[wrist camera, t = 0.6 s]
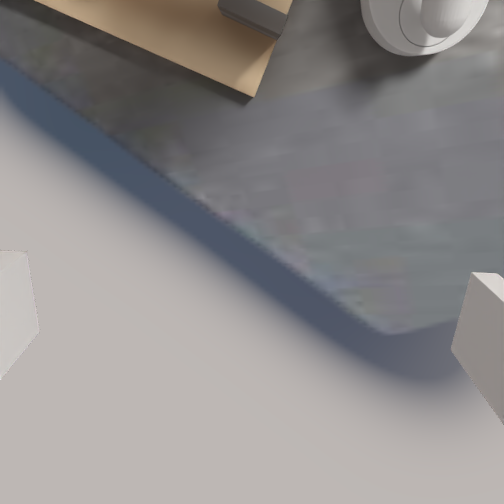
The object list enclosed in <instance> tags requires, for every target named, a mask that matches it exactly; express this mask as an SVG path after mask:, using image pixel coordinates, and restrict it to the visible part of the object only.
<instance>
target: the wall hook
mask: <svg viewBox="0 0 504 504" xmlns="http://www.w3.org/2000/svg"><path fill="white" fill-rule="evenodd" d="M488 1H489V0H360V2H361V12H362V16H363V20H364V23H365V25H366V28H367V30H368V32H369V33H370V35H371V36H372V38H373V39H374V40H375V41H376V42H377V43H378V44H379V45H380V46H381V47H383V48H384V49H386V50H387V51H389V52H391V53H394V54H397V55H402V56H420V55H429V54H434V53H438V52H441V51H443V50H446V49H448V48H450V47H451V46H453V45H455V44H456V43H458V42H459V41H460V40H462V39H463V38H464V37H465V36H466V35H467V34H468V33H469V32H470V31H471V30H472V29H473V28H474V26H475V25H476V24H477V22H478V21H479V19H480V18H481V16H482V14H483V12H484V10H485V8H486V6H487V3H488Z"/></svg>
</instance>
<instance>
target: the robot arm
mask: <svg viewBox="0 0 504 504" xmlns="http://www.w3.org/2000/svg"><path fill="white" fill-rule="evenodd" d="M39 332H40V329H39V322H38V317H37V310H36V304H35V298H34V292H33V286H32V281H31V273H30V267H29V262H28V255H27V252H26V251H5V250H1V251H0V380H1V379H2V378H3V376H4V375H5V374H6V373H7V371H8V370H9V369H10V368H11V367H12V365H13V364H14V363H15V362H16V360H17V359H18V358H19V357H20V355H21V354H22V353H23V352H24V351H25V349H26V348H27V347H28V346H29V345H30V343H31V342H32V341H33V340H34V338H35V337H36V336H37V335H38V333H39ZM451 351H452V352H453V354H454V355H455V356H456V358H457V359H458V361H459V362H460V364H461V365H462V366H463V368H464V369H465V371H466V372H467V374H468V375H469V376H470V378H471V379H472V381H473V382H474V384H475V385H476V386H477V388H478V389H479V391H480V392H481V393H482V395H483V396H484V398H485V399H486V401H487V402H488V403H489V405H490V406H491V408H492V409H493V410H494V412H495V413H496V415H497V416H498V418H499V419H500V420H501V422H502V423H503V425H504V279H503V278H502V277H501V276H499V275H498V274H497V273H475V272H472V273H471V276H470V280H469V284H468V287H467V291H466V295H465V299H464V302H463V306H462V310H461V313H460V317H459V321H458V324H457V328H456V332H455V336H454V339H453V343H452V346H451Z"/></svg>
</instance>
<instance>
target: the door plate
mask: <svg viewBox="0 0 504 504" xmlns="http://www.w3.org/2000/svg"><path fill="white" fill-rule="evenodd" d="M35 1H37V2H39V3H41V4H44V5H46V6H48V7H51V8H53V9H55V10H57V11H60V12H62V13H64V14H66V15H69V16H71V17H73V18H75V19H78V20H80V21H82V22H84V23H87V24H89V25H91V26H94V27H96V28H98V29H100V30H103V31H105V32H107V33H109V34H112V35H114V36H116V37H118V38H121V39H123V40H125V41H127V42H130V43H132V44H134V45H137V46H139V47H141V48H143V49H146V50H148V51H150V52H152V53H155V54H157V55H159V56H161V57H164V58H166V59H168V60H170V61H173V62H175V63H177V64H180V65H182V66H184V67H186V68H189V69H191V70H193V71H195V72H198V73H200V74H202V75H204V76H207V77H209V78H211V79H213V80H216V81H218V82H220V83H223V84H225V85H227V86H229V87H232V88H234V89H236V90H238V91H241V92H243V93H245V94H247V95H250V96H252V97H255V94H256V91H257V89H258V86H259V84H260V81H261V79H262V76H263V74H264V71H265V69H266V66H267V64H268V61H269V59H270V56H271V53H272V51H273V48H274V46H275V43H276V41H277V39H278V38H279V37H280V35H281V33H282V31H283V28H284V26H285V23H286V21H287V18H288V15H287V13H288V10H289V8H290V5H291V3H292V0H35Z"/></svg>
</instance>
